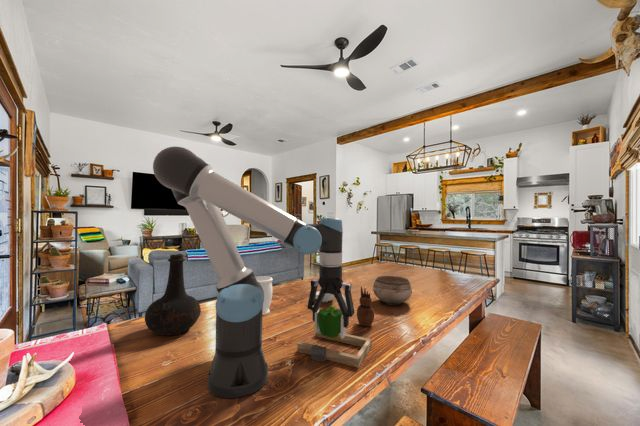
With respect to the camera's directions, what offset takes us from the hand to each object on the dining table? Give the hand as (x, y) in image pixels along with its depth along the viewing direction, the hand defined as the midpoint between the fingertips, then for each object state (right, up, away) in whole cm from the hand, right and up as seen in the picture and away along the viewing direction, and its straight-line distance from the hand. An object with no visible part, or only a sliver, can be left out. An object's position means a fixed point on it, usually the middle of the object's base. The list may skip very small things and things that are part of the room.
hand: (330, 333), depth 90 cm
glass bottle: (-57, -4, +11) cm, 58 cm away
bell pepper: (0, 0, 0) cm, 0 cm away
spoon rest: (+2, -5, +45) cm, 46 cm away
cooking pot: (+33, -6, +47) cm, 58 cm away
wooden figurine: (+15, -5, +19) cm, 25 cm away
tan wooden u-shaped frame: (+2, -5, -1) cm, 5 cm away
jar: (-30, -4, +31) cm, 43 cm away
